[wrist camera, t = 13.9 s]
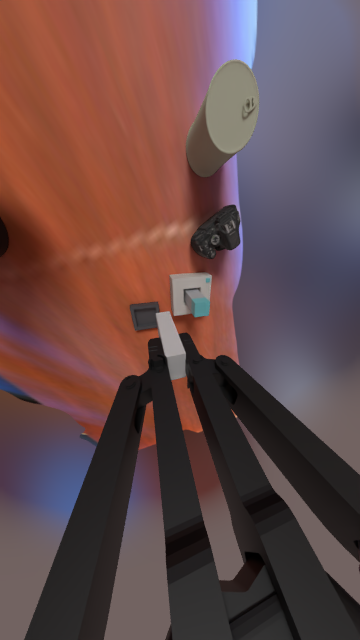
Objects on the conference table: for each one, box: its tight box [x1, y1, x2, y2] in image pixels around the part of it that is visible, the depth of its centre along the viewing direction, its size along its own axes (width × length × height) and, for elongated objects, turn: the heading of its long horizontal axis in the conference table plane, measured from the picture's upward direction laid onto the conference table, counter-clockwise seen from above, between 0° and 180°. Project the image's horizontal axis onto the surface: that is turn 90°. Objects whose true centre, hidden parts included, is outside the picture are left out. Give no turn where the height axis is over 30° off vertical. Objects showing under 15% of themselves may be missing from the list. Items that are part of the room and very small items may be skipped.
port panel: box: [169, 272, 212, 316], centre depth 46 cm, size 12×12×5 cm
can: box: [186, 60, 259, 177], centre depth 27 cm, size 9×9×12 cm
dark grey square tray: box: [130, 302, 159, 331], centre depth 48 cm, size 9×9×2 cm
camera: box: [191, 205, 240, 259], centre depth 37 cm, size 13×10×10 cm
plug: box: [183, 288, 210, 317], centre depth 42 cm, size 4×4×13 cm
